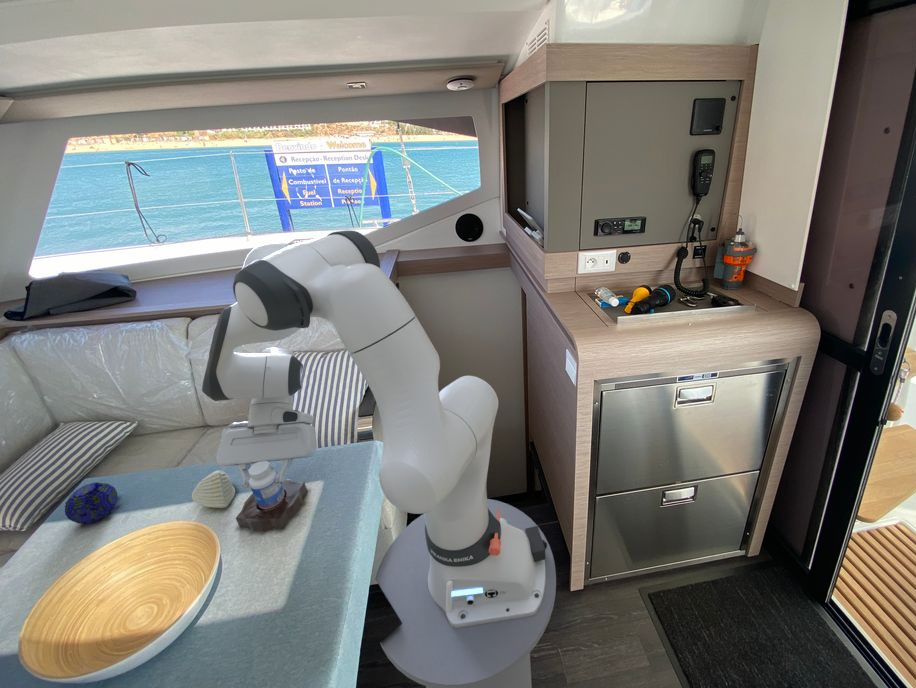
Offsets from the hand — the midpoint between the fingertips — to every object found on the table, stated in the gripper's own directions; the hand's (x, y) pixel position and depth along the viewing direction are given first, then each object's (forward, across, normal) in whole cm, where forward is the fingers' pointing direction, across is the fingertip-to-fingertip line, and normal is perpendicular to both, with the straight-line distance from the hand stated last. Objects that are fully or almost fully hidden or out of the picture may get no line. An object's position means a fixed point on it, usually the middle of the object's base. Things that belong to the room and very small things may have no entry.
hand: (263, 484), depth 90 cm
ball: (+2, -41, +9) cm, 42 cm away
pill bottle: (+4, 0, +4) cm, 6 cm away
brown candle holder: (+5, 0, +6) cm, 8 cm away
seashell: (+2, -16, +10) cm, 19 cm away
